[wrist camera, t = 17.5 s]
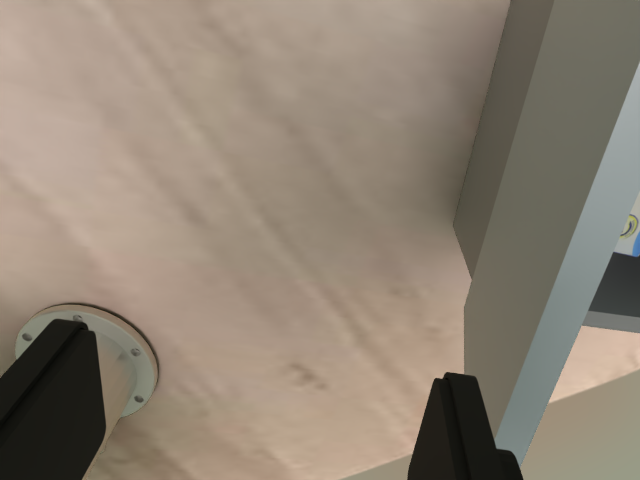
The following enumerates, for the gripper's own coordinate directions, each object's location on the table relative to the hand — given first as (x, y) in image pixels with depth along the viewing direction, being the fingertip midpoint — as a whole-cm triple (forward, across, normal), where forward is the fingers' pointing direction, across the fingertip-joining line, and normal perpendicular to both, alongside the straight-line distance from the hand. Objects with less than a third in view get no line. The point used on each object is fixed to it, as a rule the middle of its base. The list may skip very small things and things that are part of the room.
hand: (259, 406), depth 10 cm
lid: (+17, -10, 0) cm, 19 cm away
